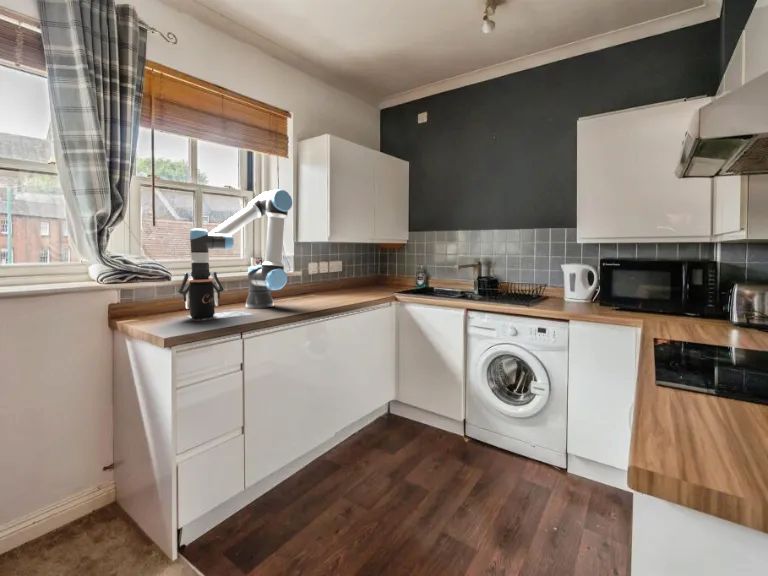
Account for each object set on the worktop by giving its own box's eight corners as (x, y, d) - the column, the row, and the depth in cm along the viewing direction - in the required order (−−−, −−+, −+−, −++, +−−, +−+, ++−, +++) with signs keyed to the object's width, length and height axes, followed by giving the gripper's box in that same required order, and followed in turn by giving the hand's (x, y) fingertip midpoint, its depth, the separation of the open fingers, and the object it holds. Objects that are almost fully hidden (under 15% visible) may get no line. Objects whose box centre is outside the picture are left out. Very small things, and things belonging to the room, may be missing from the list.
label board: (241, 311, 205) (241, 310, 205) (252, 315, 192) (252, 314, 192) (187, 316, 189) (187, 315, 189) (195, 320, 176) (195, 320, 176)
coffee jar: (205, 319, 179) (203, 280, 178) (185, 318, 182) (183, 279, 180) (219, 315, 190) (217, 278, 188) (200, 314, 192) (198, 278, 190)
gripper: (224, 261, 194) (226, 304, 196) (169, 262, 179) (171, 308, 181) (229, 261, 188) (230, 305, 190) (172, 262, 173) (175, 310, 175)
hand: (202, 307), depth 185 cm, fingers open, 12 cm apart
